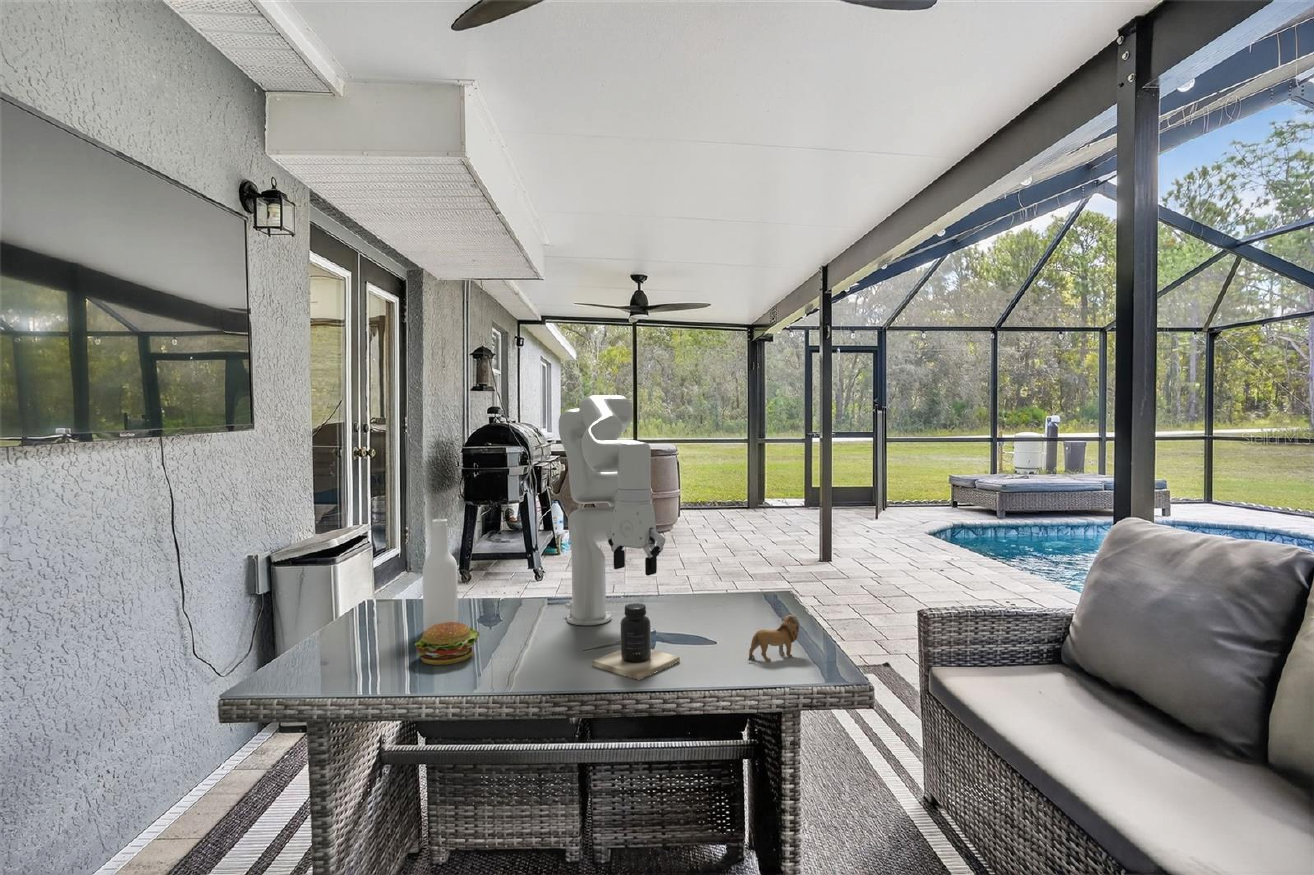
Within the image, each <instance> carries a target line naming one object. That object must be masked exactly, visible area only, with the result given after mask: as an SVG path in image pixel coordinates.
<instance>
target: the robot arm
mask: <svg viewBox="0 0 1314 875" xmlns="http://www.w3.org/2000/svg"><path fill="white" fill-rule="evenodd" d="M633 410H634V409H633V406H632V403H631V401H630V400H629V399H628V398H627V397H625V396H622V395H608V394H607V395H604V394H603V395H601V394H600V395H599V394H598V395H597V394H596V395H589V396H587V397H585V398H584V399H582V400H581V402H580V403H579V406H578V408H573V409H571V408H570V409H567V410H564V411H563V412H562V413H560V415H559V418H558V434H559V435H558V436H559V439H560V442H561V445H562V447H563V450H564V452H565V456H566V459H567V466H568V467H567V468H568V480H569V490H570V496H571V499H572V501H573V502H575V503H577V504H581V505H582V504H585V505H586V504H587V505H588V504H608V506H603V507H602V506H596V507H595V506H594V507H583V508H578V509H575V510H573V511H571V512H570V514H569V516H568V519H567V530H568V534H569V539H570V541H569V542H570V550H571V551H570V553H571V599H570V600H568V602H567V603H565V605H564V608H565V609H567V610H569V614H567V615H566V621H567V623H569V624H572V625H575V626H597V625H602V624H605V623H609V622H610V621H611V620H612V613H611V612H610V611H607V602H606V601H607V600H606V599H607V598H606V597H607V590H606V584H607V583H606V556H605V553H604V551H603V550H602V548H600V546H598V543H597V542H601V541H604V542H605V541H607V543H608V545H609V546H610V550H611V552H612V553H613V569H614V570H619V569H624V568H626V552H625V550H624V548H630V549H631V548H632V549H636V550H637V549H639V550H641V549H643V551H644V553H645V554H646V556H647V557H645V559H644V564H645V566H644V568H645V572H644V573H645V575H646V576H653V575H656V574H657V570H658V568H657V567H658V563H657V561H658V559H657V558H658V556H660V554H661V552H662V551H663V550H664V546H665V543H666V540H667V539H666V537H664V536H663V535H662V534H660V533H659V532H658V531H657V525H656V524H657V523H656V516H655V514H656V513H655V508H654V504H653V502H652V480H651V479H652V476H651V475H652V474H651V473H652V472H651V471H652V469H651V468H652V464H651V462H652V455H651V454H652V451H651V446H650V444H649V443H647V442H645V441H644V442H643V441H639V440H618V439H619V438H620V437H621V435H622V432H623V431H624V430H625V429H627V428H628V426H630V424H631V423H632V420H633V415H634V411H633Z"/></svg>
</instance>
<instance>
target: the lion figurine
mask: <svg viewBox="0 0 1314 875" xmlns="http://www.w3.org/2000/svg"><path fill="white" fill-rule="evenodd" d="M782 620H783V621H782V623H781V624H780V626H779V627H778V628H777V629H773V630H770V629H768V630H767V629H759V630H758V631H756V632H755V633H754V635H753V636H752V638H751V639H752V640H751V644H750V648H749V654H748V659H747V661H751V660H753V659H755V657H756V656H755V655H754V654H753V653H754V651H755V650H756V649H758V647H760V648H761V652H760V653H761V654H760V655H761V656H762V658H763V659H764V661H765V662H771V661H772V659H771V658H770V657H768V656H767V651H768V648H769V646H771V647H778V653H779V655H781V656H783V655H785V653H786V657H787V658H790V659H792V658H793V657H794V656H793V654H791V651H792V643H795V641H796V640H797V639H798V635H799V632H800V621H799V619H798V617H797V616H795V615H792V614H787V615H786V616H784V617H783V618H782ZM784 645H785V647H786V648H785V649H786V652H785V651H784Z"/></svg>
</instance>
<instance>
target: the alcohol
mask: <svg viewBox="0 0 1314 875" xmlns="http://www.w3.org/2000/svg"><path fill="white" fill-rule="evenodd" d="M431 522H432V524H431V527H432V528H431V529H432V530H431V544H430V552H429V554H428V557H426V558H425V560H424V562H423V566H422V607H423V608H422V609H423V610H422V611H423V612H422V613H423V615H422V616H423V619H422V620H423V621H422V622H423V631H424V632H425V631H426V630H427V629H428V628H430V627H431V626H433V625H436V624H440V623H444V622H459V613H458V612H459V610H458V609H459V606H458V605H459V603H458V602H459V601H458V599H459V598H458V592H459V591H458V563H457V560H456V559H455V557H454V556H453V555H452V553H451V550H450V544H449V543H450V542H449V534H448V532H449V531H448V525H449V524H448V519H447V518H435V519H432V520H431Z"/></svg>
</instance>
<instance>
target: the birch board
mask: <svg viewBox="0 0 1314 875" xmlns="http://www.w3.org/2000/svg"><path fill="white" fill-rule="evenodd" d="M676 662H679V663H680V656H679V655H675V654H670V653H666V652H664V651H663V652H662V651H659V650H656V649H652V648H651V657H650V659H649V660H647V661H645V662H642V663H629V662H625V661H624V660H623V659H622V657H621V649H619V650H616V651H615V652H614V651H613V652H611V653H609V654H606V655H604V656H602V657H598V658H596V659H594V660H592V667H595V668H598V669H601V670H604V671H607V672H610V673H614V674H617V675H620V676H623V677H626V676H628V677H627V678H629V677H631V678H630V679H632V678H634V679H633V680H635V679H637V680H636V681H641V680H643V679H642V678H644V677H646V676H648V677H650V676H651V675H650V674H652V675H654V674H653V673H654V672H656V671H659V672H661V671H663V670H662V669H664V668H666V667H668V668H670V667H671V666H670V665H672V664H674V663H676ZM669 666H670V667H669ZM672 666H673V665H672ZM666 669H667V668H666ZM660 670H661V671H660ZM664 670H665V669H664ZM649 675H650V676H649ZM646 678H647V677H646ZM640 679H641V680H640ZM644 679H645V678H644Z"/></svg>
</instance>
